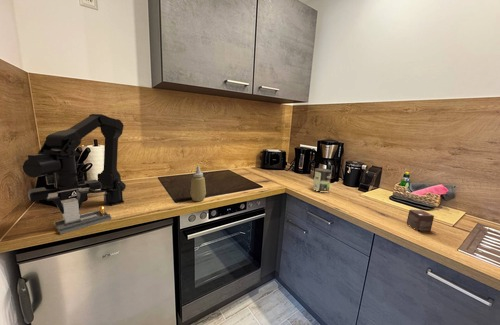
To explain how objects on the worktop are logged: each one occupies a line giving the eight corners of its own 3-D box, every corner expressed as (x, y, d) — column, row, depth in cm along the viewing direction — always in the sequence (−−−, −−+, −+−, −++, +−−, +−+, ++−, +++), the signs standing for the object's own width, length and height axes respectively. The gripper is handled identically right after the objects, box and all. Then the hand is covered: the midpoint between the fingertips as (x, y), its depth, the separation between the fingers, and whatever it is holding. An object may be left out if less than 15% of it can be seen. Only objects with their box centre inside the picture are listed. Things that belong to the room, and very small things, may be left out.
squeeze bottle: (199, 195, 109) (200, 164, 106) (209, 199, 104) (209, 166, 101) (187, 199, 103) (186, 166, 100) (196, 204, 98) (196, 168, 95)
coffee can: (330, 190, 132) (333, 169, 130) (326, 194, 124) (329, 172, 122) (315, 186, 138) (318, 167, 136) (310, 190, 130) (312, 169, 128)
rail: (103, 212, 84) (102, 202, 83) (111, 219, 79) (110, 208, 78) (54, 225, 72) (53, 213, 71) (60, 234, 67) (58, 222, 66)
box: (418, 224, 89) (422, 209, 88) (431, 232, 83) (435, 215, 82) (405, 224, 89) (409, 209, 87) (417, 231, 83) (421, 215, 82)
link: (93, 214, 79) (91, 194, 78) (97, 217, 77) (95, 197, 75) (63, 222, 72) (60, 200, 71) (66, 226, 70) (63, 204, 68)
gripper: (91, 163, 81) (94, 199, 84) (22, 169, 66) (29, 213, 69) (100, 167, 74) (104, 206, 77) (26, 176, 60) (34, 223, 63)
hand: (70, 211), depth 72 cm, fingers closed on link, 4 cm apart
